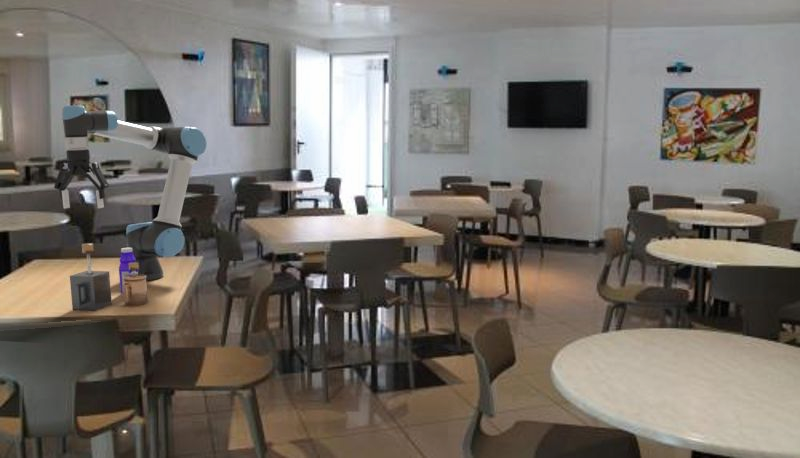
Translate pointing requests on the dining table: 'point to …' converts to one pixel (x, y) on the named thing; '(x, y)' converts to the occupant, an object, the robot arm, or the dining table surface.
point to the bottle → (125, 264)
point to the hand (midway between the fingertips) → (83, 208)
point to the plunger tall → (88, 253)
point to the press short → (134, 287)
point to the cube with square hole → (90, 290)
